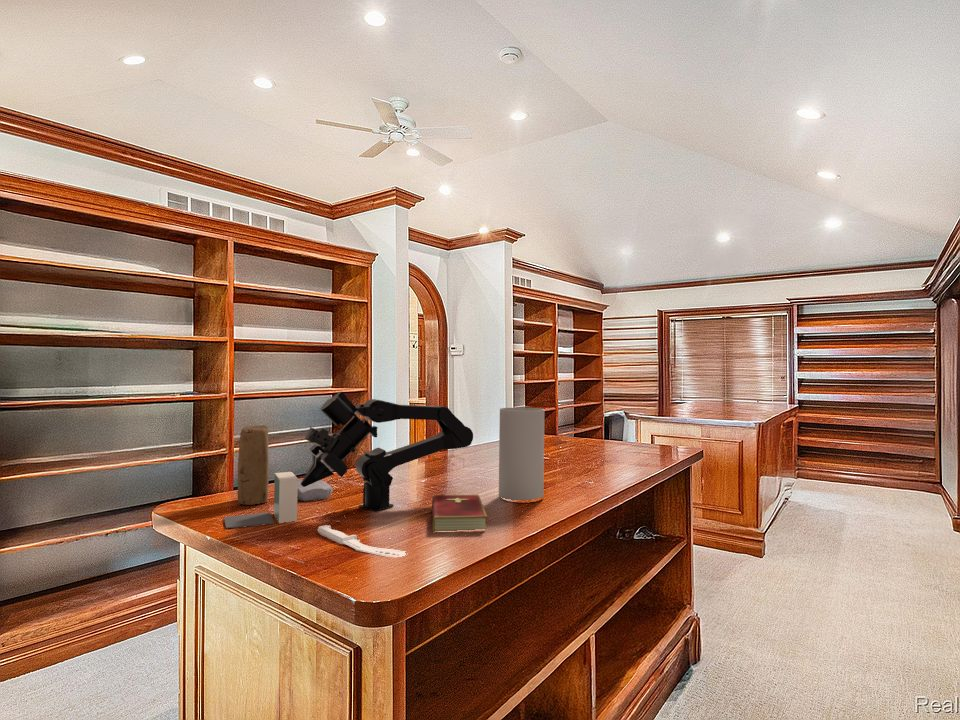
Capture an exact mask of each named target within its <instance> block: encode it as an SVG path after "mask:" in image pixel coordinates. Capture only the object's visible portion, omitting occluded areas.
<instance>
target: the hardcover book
mask: <svg viewBox="0 0 960 720" xmlns="http://www.w3.org/2000/svg"><path fill="white" fill-rule="evenodd" d="M431 508H432V509H431V511H432V517H431V518H432V533H433V532H435V531H457V530H475V529H485V530H486V519H488V515H487V512H486V510H485V507H484V505H483V503H482V500H481V497H480V494H437V495H436V494H434V495H433V496H432V501H431Z"/></svg>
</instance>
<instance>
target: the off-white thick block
mask: <svg viewBox="0 0 960 720" xmlns="http://www.w3.org/2000/svg"><path fill="white" fill-rule="evenodd" d="M298 481H299V478H298V477H297V476H296V475H295V474H294V473H293V472H292V471H284V472H274V489H273V490H274V491H273V493H274V495H273V496H274V497H273V498H274V499H273V501H274V502H273V514H275V515H274V517H275V516H276V517H275V519H276V518H277V519H276V520H278V521H277V523H278V522H279V523H278V524H283V523H284V522H286V523H293V522H292V521H295V522H298V498H297V494H298Z"/></svg>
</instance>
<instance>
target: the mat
mask: <svg viewBox="0 0 960 720" xmlns="http://www.w3.org/2000/svg"><path fill="white" fill-rule="evenodd" d="M224 520H225V521H224ZM223 521H224V525H225V526H226V527H225V526H224V527H225V529H226V528H227V529H226V530H229V529H228V528H234V529H238V528H237V527H242V528H245V527H244V526H251V527H255V526H254V525H260V526H264V525H263V524H269V525H274V524H275V521H274V518H273V517H272V515H271V513H270V512H260V513H258V512H257V513H249V514H248V513H247V514H241V515H231V516H224V517H223Z"/></svg>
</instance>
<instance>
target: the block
mask: <svg viewBox="0 0 960 720" xmlns="http://www.w3.org/2000/svg"><path fill="white" fill-rule="evenodd" d="M239 433H240V435H239V443H238V456H237V457H238V459H237V460H238V462H237V463H238V464H237V502H238V504H240V505H242V506H245V505H246V506H256V505H255V504H258V505H261V504H260V503H262V504H266V503H267V502H268V499H269V459H270V458H269V451H270V450H269V448H270V447H269V428H268V426H267V425H247V426H244V427H243V428H241V430H240V432H239ZM266 501H267V502H266Z"/></svg>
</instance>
